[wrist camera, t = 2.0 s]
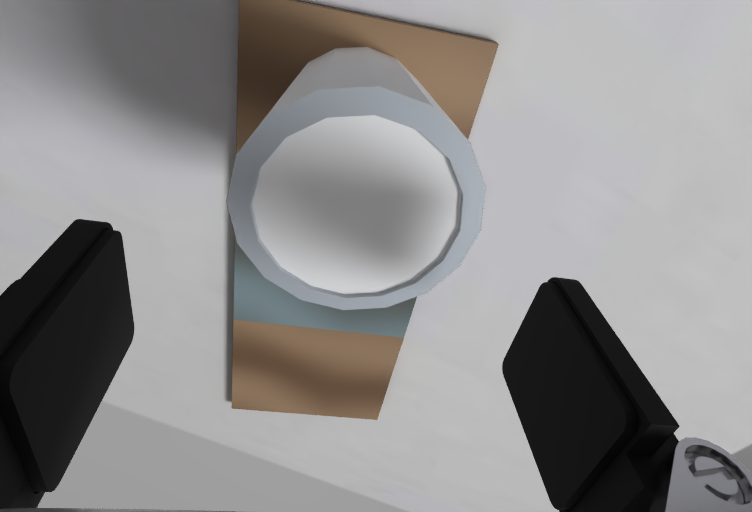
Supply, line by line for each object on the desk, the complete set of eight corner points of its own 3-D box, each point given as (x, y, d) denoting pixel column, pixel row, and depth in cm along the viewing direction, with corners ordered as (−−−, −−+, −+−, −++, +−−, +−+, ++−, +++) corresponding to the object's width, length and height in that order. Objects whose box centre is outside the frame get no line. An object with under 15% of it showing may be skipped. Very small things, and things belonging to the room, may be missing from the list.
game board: (241, -12, 15) (239, -10, 15) (496, 41, 17) (498, 44, 16) (233, 402, 28) (231, 408, 28) (376, 414, 30) (377, 419, 29)
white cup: (465, 43, 16) (525, 109, 11) (423, 210, 20) (450, 322, 15) (267, 10, 15) (220, 63, 10) (264, 191, 19) (229, 303, 14)
